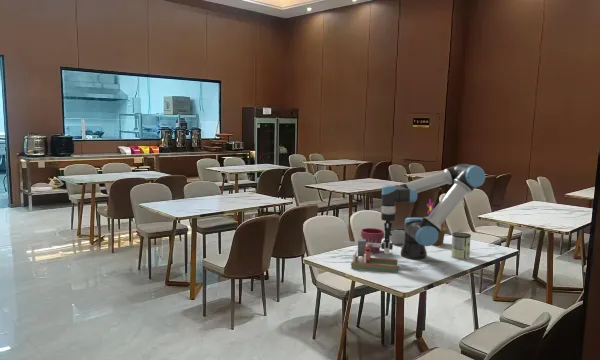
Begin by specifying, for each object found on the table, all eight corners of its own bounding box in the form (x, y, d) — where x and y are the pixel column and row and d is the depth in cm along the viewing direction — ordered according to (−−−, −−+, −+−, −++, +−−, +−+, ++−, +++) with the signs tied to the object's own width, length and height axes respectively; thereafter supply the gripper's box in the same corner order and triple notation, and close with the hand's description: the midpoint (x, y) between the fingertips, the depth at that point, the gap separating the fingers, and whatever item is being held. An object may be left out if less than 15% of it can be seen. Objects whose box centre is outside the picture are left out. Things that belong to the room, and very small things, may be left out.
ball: (359, 253, 248) (355, 259, 248) (359, 255, 244) (355, 261, 245) (365, 258, 247) (361, 263, 248) (365, 260, 243) (361, 265, 244)
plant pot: (386, 253, 271) (386, 233, 269) (363, 254, 270) (363, 233, 268) (380, 247, 285) (380, 227, 283) (358, 247, 284) (358, 228, 282)
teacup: (406, 246, 289) (406, 234, 288) (389, 245, 291) (389, 233, 290) (405, 240, 303) (406, 229, 302) (389, 239, 305) (389, 228, 304)
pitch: (397, 262, 253) (398, 241, 251) (396, 272, 236) (397, 249, 234) (354, 259, 258) (355, 238, 257) (351, 268, 241) (351, 246, 240)
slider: (392, 259, 252) (392, 242, 251) (391, 266, 240) (391, 248, 239) (343, 255, 259) (344, 238, 257) (340, 262, 246) (340, 244, 245)
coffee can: (452, 254, 272) (453, 231, 270) (470, 256, 268) (471, 233, 266) (450, 258, 263) (451, 234, 261) (468, 260, 258) (470, 236, 257)
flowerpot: (420, 241, 303) (422, 197, 299) (440, 240, 304) (442, 197, 301) (428, 246, 288) (430, 200, 285) (449, 246, 290) (452, 200, 286)
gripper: (382, 208, 261) (381, 244, 264) (380, 217, 237) (379, 255, 240) (395, 209, 260) (394, 244, 262) (394, 217, 236) (393, 256, 238)
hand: (387, 250), depth 251 cm, fingers open, 13 cm apart
